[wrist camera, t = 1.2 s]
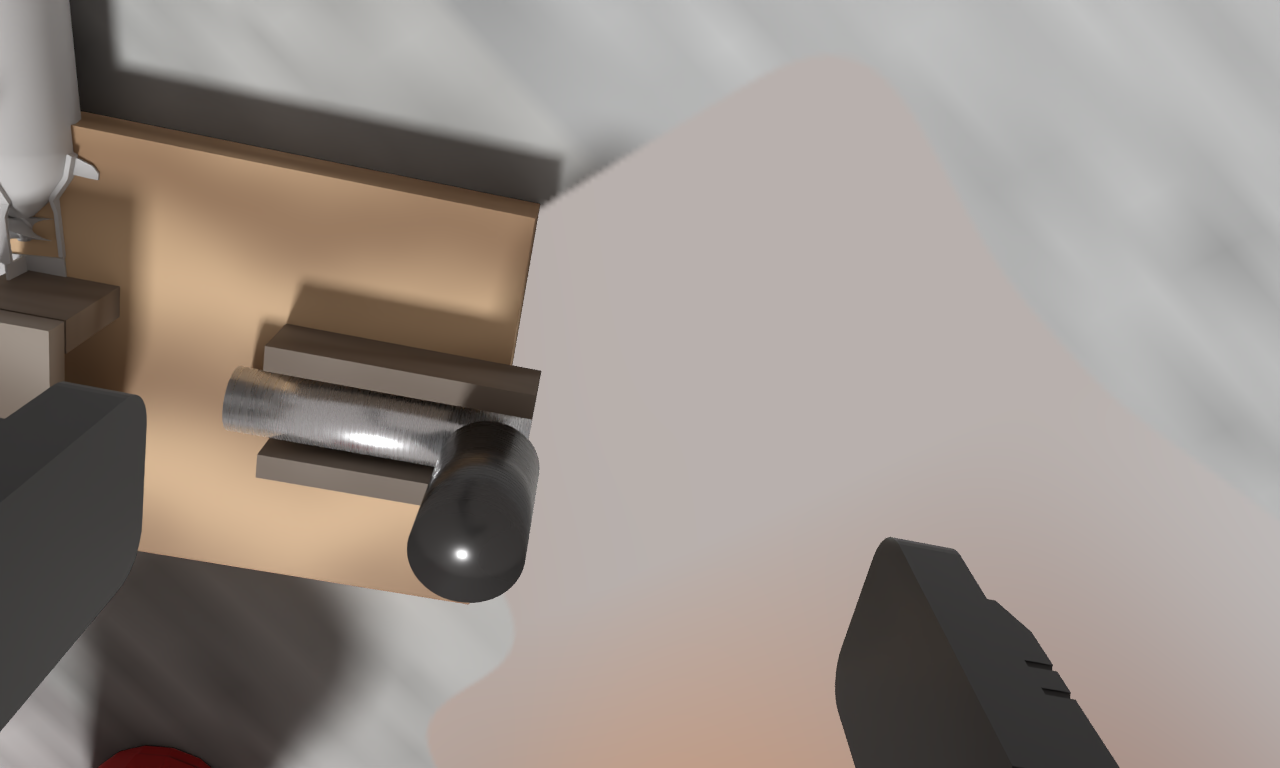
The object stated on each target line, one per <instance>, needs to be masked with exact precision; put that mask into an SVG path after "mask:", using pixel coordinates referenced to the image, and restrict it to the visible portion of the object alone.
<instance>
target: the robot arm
mask: <svg viewBox="0 0 1280 768" xmlns="http://www.w3.org/2000/svg"><path fill="white" fill-rule="evenodd" d="M146 431H147V413H146V407H145V404H144V401H143V399H142V398H141V397H140V396H138V395H135V394H129V393H124V392H119V391H113V390H108V389H103V388H97V387H92V386H87V385H81V384H76V383H70V382H64V381H62V382H58V383H56V384H54V385H53V386H51V387H50V388H48V389H47V390H45V391H44V392H43V393H41V394H40V395H38V396H37V397H35V398H34V399H32V400H31V401H30V402H28V403H27V404H25V405H24V406H22V407H21V408H20V409H18V410H17V411H15V412H14V413H12V414H11V415H9V416H8V417H7V418H5V419H4V418H0V731H1V730H2V729H3V728H4V727H5V725H6V724H7V723H8V722H9V721H10V719H11V718H12V717H13V716H14V715H15V713H16V712H17V711H18V710H19V709H20V707H21V706H22V705H23V704H24V703H25V701H26V700H27V699H28V698H29V697H30V695H31V694H32V693H33V692H34V691H35V689H36V688H37V687H38V686H39V685H40V683H41V682H42V681H43V680H44V679H45V677H46V676H47V675H48V674H49V673H50V671H51V670H52V669H53V668H54V667H55V665H56V664H57V663H58V662H59V661H60V659H61V658H62V657H63V656H64V655H65V653H66V652H67V651H68V650H69V649H70V647H71V646H72V645H73V644H74V643H75V641H76V640H77V639H78V638H79V637H80V635H81V634H82V633H83V632H84V631H85V629H86V628H87V627H88V626H89V625H90V623H91V622H92V621H93V620H94V619H95V617H96V616H97V615H98V614H99V613H100V611H101V610H102V609H103V608H104V607H105V605H106V604H107V603H108V602H109V601H110V599H111V598H112V597H113V596H114V595H115V593H116V592H117V591H118V590H119V589H120V587H121V586H122V585H123V583H124V581H125V580H126V578H127V576H128V574H129V572H130V570H131V568H132V565H133V563H134V560H135V557H136V554H137V551H138V548H139V543H140V539H141V532H142V519H143V497H144V475H145V453H146ZM1052 666H1053V665H1052V663H1051V661H1050V660H1049V658H1048V657H1047V655H1046V654H1045V652H1044V651H1043V649H1042V648H1041V646H1040V645H1039V643H1038V641H1037V640H1036V638H1035V637H1034V635H1033V634H1032V632H1031V631H1030V630H1028V629H1027V628H1026V627H1025V626H1024V625H1023V624H1022V623H1020V622H1019V621H1018V620H1017V619H1016V618H1015V617H1014V616H1012V615H1011V614H1010V613H1009V612H1008V611H1007V610H1005V609H1004V608H1003V607H1002V606H1001V605H1000V604H999V603H997V602H996V601H994V600H989V599H987V598H986V597H985V595H984V593H983V592H982V590H981V589H980V587H979V585H978V584H977V582H976V581H975V579H974V577H973V575H972V574H971V572H970V571H969V569H968V567H967V566H966V564H965V562H964V561H963V559H962V558H961V556H960V554H959V553H958V552H957V551H956V550H954V549H951V548H946V547H940V546H935V545H929V544H925V543H919V542H914V541H908V540H903V539H898V538H892V537H889V538H886V539H885V540H884V541H882V543H881V544H880V545H879V547H878V548H877V550H876V552H875V555H874V557H873V560H872V563H871V566H870V568H869V571H868V574H867V577H866V580H865V582H864V585H863V588H862V591H861V594H860V597H859V600H858V602H857V605H856V608H855V611H854V614H853V617H852V619H851V622H850V625H849V628H848V631H847V634H846V637H845V639H844V642H843V645H842V648H841V651H840V654H839V659H838V663H837V670H836V680H835V695H836V704H837V709H838V712H839V716H840V719H841V722H842V725H843V729H844V732H845V735H846V739H847V742H848V745H849V748H850V751H851V755H852V758H853V761H854V764H855V768H1119V766H1118V765H1117V763H1116V762H1115V760H1114V758H1113V757H1112V755H1111V754H1110V752H1109V751H1108V749H1107V748H1106V746H1105V745H1104V743H1103V742H1102V740H1101V738H1100V737H1099V735H1098V734H1097V732H1096V731H1095V729H1094V728H1093V726H1092V725H1091V723H1090V722H1089V720H1088V719H1087V717H1086V715H1085V714H1084V712H1083V711H1082V709H1081V708H1080V706H1079V705H1078V703H1077V701H1076V700H1073V699H1070V691H1069V689H1068V688H1067V686H1066V685H1065V683H1064V681H1063V680H1062V678H1061V677H1060V675H1059V674H1058V672H1056V671H1052Z"/></svg>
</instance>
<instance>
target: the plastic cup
mask: <svg viewBox="0 0 1280 768" xmlns="http://www.w3.org/2000/svg"><path fill="white" fill-rule="evenodd" d="M98 768H211V767H210V766H209V765H207V764H206V763H205V762H204V761H203V760H201V759H200V758H198V757H195V756H193V755H190V754H187V753H185V752H182V751H180V750H177V749H175V748H168V747H157V746H141V747H136V748H132V749H128V750H124V751H119V752H118V753H116V754H115V755H114V756H112V757H111V758H109V759H108V760H107V761H105V762H104V763H103V764H101V765H100V766H99V767H98Z"/></svg>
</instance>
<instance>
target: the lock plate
mask: <svg viewBox="0 0 1280 768" xmlns="http://www.w3.org/2000/svg"><path fill="white" fill-rule="evenodd" d="M80 112H81V120H80V121H78V122H77V123H76V124H72V125H71V134H72V143H73V152H74V153H76V154H78V158H80V159H82V160H84V161H86V162H88V163H90V164H92V165H94V167H95V168H96V169H97V171H98V172H99V173H100V176H99V180H94V179H89V178H85V177H81V176H76V175H74V178H73V180H72V181H71V183H70V184H69V185H68V187H67V188H66V190H65V191H64V193H63V194H62V196H61V197H60V198H59V200H60V208H61V217H62V226H63V235H64V244H65V252H66V257H65V262H66V271H67V277H62V276H57V275H51V274H46V273H41V272H35V271H30V270H27V272H25V273H23V274H21V275H19V276H17V277H15V278H13V279H11V280H6V273H5V274H3V275H1V276H0V418H4V419H5V418H7V417H8V416H9V415H11V414H12V413H14V412H15V411H17V410H18V409H20V408H21V407H22V406H24V405H25V404H27V403H28V402H30V401H31V400H32V399H34V398H35V397H37V396H38V395H40V394H41V393H43V392H44V391H45V390H47V389H48V388H50V387H51V386H53V385H54V384H56V383H58V382H62V381H64V382H70V383H76V384H81V385H87V386H92V387H97V388H103V389H108V390H113V391H119V392H124V393H129V394H135V395H138V396H140V397H141V398H142V399H143V401H144V404H145V407H146V413H147V431H146V453H145V475H144V497H143V519H142V532H141V539H140V543H139V548H138V551H142V552H148V553H154V554H160V555H167V556H173V557H179V558H185V559H191V560H197V561H204V562H210V563H216V564H222V565H228V566H235V567H241V568H247V569H253V570H259V571H265V572H272V573H278V574H284V575H290V576H296V577H302V578H309V579H315V580H321V581H327V582H333V583H339V584H346V585H352V586H358V587H364V588H370V589H377V590H383V591H389V592H395V593H401V594H407V595H414V596H420V597H426V598H432V599H438V600H444V601H451V600H448V599H445V598H443V597H440V596H438V595H436V594H435V593H433V592H431V591H430V590H429V589H427V588H426V587H425V586H424V585H423V584H422V583H421V582H420V581H419V580H418V579H417V577H416V576H415V575H414V573H413V571H412V569H411V567H410V564H409V561H408V557H407V542H408V538H409V535H410V532H411V529H412V527H413V524H414V521H415V518H416V516H417V513H418V510H419V508H420V505H421V502H422V500H423V497H424V494H425V492H426V489H427V486H428V484H429V481H430V478H431V475H432V473H433V470H434V466H428V465H422V464H416V463H411V462H405V461H399V460H394V459H388V458H382V457H376V456H371V455H365V454H359V453H354V452H348V451H342V450H336V449H331V448H325V447H319V446H314V445H308V444H302V443H296V442H291V441H285V440H279V439H273V438H268V437H262V436H256V435H251V434H245V433H239V432H233V431H228V430H226V429H225V428H224V426H223V421H222V409H223V401H224V396H225V392H226V388H227V385H228V382H229V380H230V377H231V375H232V373H233V372H234V370H235V369H236V368H237V367H238V366H244V367H249V368H255V369H260V370H263V371H267V372H272V373H278V374H283V375H289V376H294V377H300V378H305V379H311V380H316V381H322V382H327V383H333V384H338V385H344V386H349V387H355V388H360V389H366V390H371V391H377V392H382V393H388V394H394V395H399V396H405V397H410V398H416V399H421V400H427V401H432V402H438V403H443V404H449V405H454V406H460V407H465V408H471V409H476V410H482V411H487V412H493V413H498V414H504V415H509V416H515V417H520V418H526V419H532V417H533V412H534V407H535V402H536V396H537V391H538V386H539V379H540V375H541V371H538V370H533V369H528V368H522V367H517V366H512V364H513V358H514V352H515V347H516V341H517V335H518V329H519V324H520V318H521V312H522V306H523V300H524V294H525V289H526V283H527V277H528V271H529V266H530V260H531V254H532V248H533V242H534V237H535V231H536V225H537V219H538V214H539V208H540V204H538V203H533V202H528V201H523V200H518V199H513V198H508V197H503V196H498V195H493V194H488V193H483V192H478V191H474V190H469V189H464V188H459V187H454V186H449V185H444V184H439V183H434V182H429V181H424V180H419V179H414V178H409V177H404V176H399V175H395V174H390V173H385V172H380V171H375V170H370V169H365V168H360V167H355V166H350V165H345V164H340V163H335V162H330V161H325V160H320V159H316V158H311V157H306V156H301V155H296V154H291V153H286V152H281V151H276V150H271V149H266V148H261V147H256V146H251V145H246V144H241V143H237V142H232V141H227V140H222V139H217V138H212V137H207V136H202V135H197V134H192V133H187V132H182V131H177V130H172V129H167V128H162V127H158V126H153V125H148V124H143V123H138V122H133V121H128V120H123V119H118V118H113V117H108V116H103V115H98V114H93V113H88V112H83V111H80ZM32 217H40V218H50V219H49V220H42V221H38V222H36V223H35V224H34V225H33V227H32V230H33V232H34V233H35V234H37V235H38V236H40V237H42V238H45V239H48V240H51V241H45V240H35V239H32V240H31V241H26V242H22V241H18V240H17V239H10V243H11V250H12V253H17V254H27V255H37V256H48V257H58V258H60V257H59V255H58V247H57V238H56V230H55V221H54V213H53V210H52V208H51V205H50V202H48V203H47V204H46V205H45V206H44V207H43V208H42V209H41V210H40V211H38V212H37V213H36V214H35V215H34V216H32ZM451 602H456V601H451ZM457 603H463V602H457ZM463 604H469V603H463Z"/></svg>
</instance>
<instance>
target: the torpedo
mask: <svg viewBox="0 0 1280 768" xmlns="http://www.w3.org/2000/svg"><path fill="white" fill-rule="evenodd" d="M80 120H81V112H80V102H79V92H78V82H77V72H76V63H75V53H74V43H73V33H72V23H71V13H70V3H69V0H0V276H1V275H3V274H5V273H6V280H11V279H13V278H15V277H17V276H19V275H21V274H23V273H25V272H27V270H30V271H35V272H41V273H46V274H51V275H57V276H62V277H67V271H66V262H65V257H66V252H65V244H64V235H63V226H62V217H61V208H60V200H59V198H60V197H61V196H62V194H63V193H64V191H65V190H66V188H67V187H68V185H69V184H70V183H71V181H72V180H73V178H74V175H76V176H81V177H85V178H89V179H94V180H99V176H100V173H99V172H98V171H97V169H96V168H95V167H94V165H92V164H90V163H88V162H86V161H84V160H82V159H80V158H78V154H76V153H74V152H73V143H72V134H71V125H72V124H76V123H77V122H78V121H80ZM48 202H50V205H51V208H52V210H53V213H54V221H55V230H56V238H57V247H58V255H59V257H60V258H58V257H48V256H37V255H27V254H17V253H12V250H11V243H10V239H17V240H18V241H22V242H26V241H31V240H32V239H35V240H45V241H51V240H48V239H45V238H42V237H40V236H38V235H37V234H35V233H34V232H33V230H32V227H33V225H34V224H35V223H36V222H38V221H42V220H49V219H50V218H40V217H32V216H34V215H35V214H36V213H37V212H38V211H40V210H41V209H42V208H43V207H44V206H45V205H46V204H47V203H48Z"/></svg>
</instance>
